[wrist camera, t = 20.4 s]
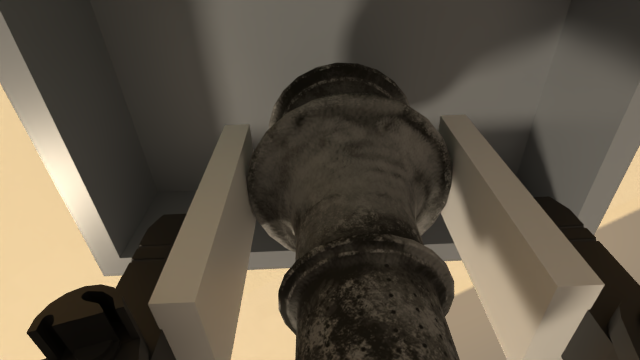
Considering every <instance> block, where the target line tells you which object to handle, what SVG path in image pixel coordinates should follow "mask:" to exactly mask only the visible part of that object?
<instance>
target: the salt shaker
mask: <svg viewBox="0 0 640 360" xmlns="http://www.w3.org/2000/svg"><path fill="white" fill-rule="evenodd" d="M451 185H452V160H451V157H450V155H449V152H448V149H447V147H446V144H445V141H444V139H443V137H442V136H441V135H440V133H439V132H438V131H437V130H436V128H435V127H434V126H433V125H432V124H431V122H430V121H429V120H428V119H427V118H426V117H425V116H423V115H422V114H420V113H419V112H417V111H416V110H414V109H413V108H411V107H410V105H409V102H408V100H407V97H406V95H405V94H404V93H403V91H402V90H401V89H400V88H399V87H398V85H397V84H396V83H395V82H394V80H392V79H391V78H389V77H388V76H386V75H385V74H383V73H382V72H380V71H379V70H377V69H374V68H371V67H368V66H364V65H361V64H358V63H333V64H328V65H324V66H319V67H316V68H314V69H312V70H310V71H308V72H306V73H304V74H302V75H300V76H298V77H297V78H296V79H295V80H294V81H293V82H292V83H291V84H290V85H288V86H287V87H286V88H285V89H284V90H283V92H282V93H281V95H280V97H279V98H278V100H277V102H276V103H275V105H274V107H273V110H272V114H271V118H270V121H269V129H268V130H267V131H266V133H265V134H264V136H263V137H262V139H261V141H260V142H259V144H258V146H257V147H256V149H255V150H254V152H253V154H252V158H251V162H250V166H249V170H248V174H247V189H248V196H249V202H250V205H251V208H252V210H253V212H254V215H255V217H256V220H257V221H258V222H259V223H260V225H261V226H262V227H263V228H264V230H265V231H266V232H267V233H268V234H269V236H270V237H272V238H273V239H274V240H276V241H277V242H279V243H280V244H281V245H283V246H284V247H285V248H287V249H288V250H291V251H293V252H295V253H296V258H295V263H294V264H293V265H292V267H291V268H290V269H289V270H288V271H287V273H286V274H285V275H284V278H283V280H282V283H281V286H280V288H279V293H278V299H279V311H280V313H281V316H282V318H283V320H284V322H285V324H286V325H287V326H288V327H289V328H290V329H291V330H292V331H293V332H294V334H295V335H296V359H295V360H459V357H458V354H457V351H456V348H455V345H454V342H453V339H452V336H451V333H450V330H449V327H448V325H447V322H446V319H445V316H446V314H447V313H448V312H449V309H450V307H451V304H452V301H453V299H454V280H453V278H452V276H451V274H450V271H449V269H448V267H447V265H446V263H445V262H444V261H443V260H442V259H441V258H440V257H439V256H438V255H437V254H436V253H435V252H434V251H433V250H432V249H430V248H428V247H426V246H424V244H423V241H422V238H421V235H422V234H423V233H424V232H425V231H426V230H427V229H429V228H430V227H431V226H432V225H433V224H434V222H435V221H436V219H437V218H438V216H439V215H440V213H441V211H442V210H443V208H444V207H445V205H446V203H447V199H448V196H449V192H450V189H451Z"/></svg>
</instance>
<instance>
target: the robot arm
mask: <svg viewBox="0 0 640 360" xmlns="http://www.w3.org/2000/svg"><path fill="white" fill-rule="evenodd" d="M438 132H439V133H440V135H441V136H442V137H443V139H444V141H445V144H446V147H447V149H448V152H449V155H450V157H451V160H452V185H451V189H450V192H449V196H448V199H447V203H446V205H445V207H444V208H443V210H442V211H441V215H442V217H443V219H444V221H445V224H446V226H447V228H448V230H449V232H450V235H451V237H452V239H453V241H454V244H455V246H456V248H457V250H458V252H459V255H460V257H461V259H462V261H463V263H464V266H465V268H466V270H467V272H468V274H469V277H470V279H471V281H472V283H473V285H474V288H475V290H476V292H477V294H478V297H479V298H480V301H481V303H482V305H483V308H484V310H485V312H486V314H487V316H488V319H489V321H490V323H491V325H492V327H493V329H494V332H495V334H496V336H497V338H498V340H499V343H500V345H501V347H502V350H503V352H504V354H505V356H506V358H507V360H561V359H563V360H640V285H639V284H638V283H637V282H636V281H635V280H634V279H633V278H632V277H631V276H630V275H629V273H628V272H627V271H626V270H625V269H624V268H623V267H622V266H621V265H620V264H619V263H618V261H617V260H616V259H615V258H614V257H613V256H612V255H611V254H610V253H609V252H608V250H607V249H606V248H605V247H604V246H603V245H602V244H601V243H600V242H599V241H596V237H595V236H594V235H593V234H592V233H591V232H590V231H589V230H588V229H587V228H584V224H583V223H582V222H581V221H580V220H579V219H578V218H577V217H576V215H575V214H574V213H573V212H572V211H571V210H570V209H569V208H567V207H565V206H564V205H562V204H561V203H559V202H557V201H556V200H554V199H553V198H551V197H549V196H547V197H533V196H532V195H531V194H530V193H529V192H528V190H527V189H526V188H525V187H524V185H523V184H522V183H521V182H520V181H519V179H518V178H517V177H516V176H515V175H514V173H513V172H512V171H511V170H510V168H509V167H508V166H507V165H506V164H505V162H504V161H503V160H502V159H501V157H500V156H499V155H498V154H497V153H496V151H495V150H494V149H493V148H492V146H491V145H490V144H489V143H488V142H487V140H486V139H485V138H484V137H483V136H482V134H481V133H480V132H479V131H478V129H477V128H476V127H475V126H474V125H473V123H472V122H471V121H470V120H469V118H468V117H467V116H466V115H445V116H440V123H439V129H438ZM253 152H254V150H253V144H252V137H251V131H250V125H249V124H244V125H225V126H224V128H223V131H222V133H221V135H220V138H219V140H218V142H217V145H216V147H215V149H214V152H213V154H212V156H211V159H210V161H209V163H208V166H207V168H206V170H205V173H204V175H203V177H202V180H201V182H200V184H199V187H198V189H197V191H196V194H195V196H194V198H193V200H192V203H191V205H190V207H189V210H188V212H187V214H165V215H162V216H161V217H160V218H159V219H158V220H157V221H156V222H155V223H154V224H152V225H151V226H150V227H149V228H148V229H147V231H146V233H145V235H144V236H143V238H142V240H141V242H140V244H139V249H136V251H135V253H134V255H133V257H132V259H131V260H132V261H131V263H129V264H128V266H127V268H126V270H125V272H124V274H123V275H122V277H121V279H120V281H119V283H118V285H117V287H116V288H114V287H110V286H105V285H92V286H84V287H82V288H79V289H76V290H74V291H71V292H68V293H66V294H65V295H63V296H61V297H60V298H58V299H57V300H55V301H53V302H52V303H50V304H49V305H48V306H47V307H46V308H45V309H44V310H43V311H42V312H41V313H40V314H39V315H38V316H37V317H36V318H35V319H34V321H33V323H32V324H31V326H30V328H29V329H28V331H27V334H28V335H29V337H30V338H31V339H32V340H33V342H34V343H35V344H36V345H37V346H38V348H39V349H40V350H41V351H42V353H43V354H44V355H45V356H46V359H43V360H231V354H232V349H233V344H234V338H235V333H236V327H237V322H238V316H239V311H240V306H241V300H242V295H243V289H244V284H245V278H246V273H247V268H248V262H249V257H250V251H251V246H252V240H253V235H254V230H255V224H256V217H255V215H254V212H253V210H252V208H251V205H250V202H249V196H248V189H247V174H248V170H249V166H250V162H251V158H252V154H253Z"/></svg>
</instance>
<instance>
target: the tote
mask: <svg viewBox="0 0 640 360" xmlns="http://www.w3.org/2000/svg"><path fill="white" fill-rule="evenodd" d="M333 63H358V64H361V65H364V66H368V67H371V68H374V69H377V70H379V71H380V72H382V73H383V74H385V75H386V76H388V77H389V78H391V79H392V80H394V82H395V83H396V84H397V85H398V87H399V88H400V89H401V90H402V91H403V93H404V94H405V95H406V97H407V100H408V102H409V105H410V107H411V108H413V109H414V110H416V111H417V112H419V113H420V114H422V115H423V116H425V117H426V118H427V119H428V120H429V121H430V122H431V124H432V125H433V126H434V127H435V128H436V130H437V131H438V129H439V123H440V116H445V115H466V116H467V117H468V118H469V120H470V121H471V122H472V123H473V125H474V126H475V127H476V128H477V129H478V131H479V132H480V133H481V134H482V136H483V137H484V138H485V139H486V140H487V142H488V143H489V144H490V145H491V146H492V148H493V149H494V150H495V151H496V153H497V154H498V155H499V156H500V157H501V159H502V160H503V161H504V162H505V164H506V165H507V166H508V167H509V168H510V170H511V171H512V172H513V173H514V175H515V176H516V177H517V178H518V179H519V181H520V182H521V183H522V184H523V185H524V187H525V188H526V189H527V190H528V192H529V193H530V194H531V195H532V196H533V197H547V196H549V197H551V198H553V199H554V200H556V201H557V202H559V203H561V204H562V205H564V206H565V207H567V208H569V209H570V210H571V211H572V212H573V213H574V214H575V215H576V217H577V218H578V219H579V220H580V221H581V222H582V223H583V224H584V228H587V229H588V230H589V231H590V232H591V233H592V234H593V235H594V234H595V232H596V230H597V228H598V227H599V225H600V223H601V221H602V219H603V217H604V215H605V213H606V211H607V209H608V207H609V205H610V203H611V201H612V199H613V197H614V195H615V193H616V191H617V189H618V187H619V185H620V183H621V181H622V179H623V177H624V175H625V173H626V171H627V169H628V167H629V165H630V163H631V161H632V159H633V157H634V155H635V153H636V151H637V149H638V147H639V146H640V0H0V83H1V85H2V87H3V89H4V91H5V93H6V95H7V96H8V98H9V100H10V102H11V104H12V106H13V108H14V109H15V111H16V113H17V115H18V117H19V119H20V121H21V123H22V124H23V126H24V128H25V130H26V132H27V134H28V136H29V137H30V139H31V141H32V143H33V145H34V147H35V149H36V150H37V152H38V154H39V156H40V158H41V160H42V162H43V163H44V165H45V167H46V169H47V171H48V173H49V175H50V176H51V178H52V180H53V182H54V184H55V186H56V188H57V189H58V191H59V193H60V195H61V197H62V199H63V201H64V203H65V204H66V206H67V208H68V210H69V212H70V214H71V216H72V217H73V219H74V221H75V223H76V225H77V227H78V229H79V230H80V232H81V234H82V236H83V238H84V240H85V242H86V243H87V245H88V247H89V249H90V251H91V253H92V255H93V256H94V258H95V260H96V262H97V264H98V266H99V268H100V269H101V271H102V273H103V275H104V276H119V275H123V274H124V272H125V270H126V268H127V266H128V264H129V263H131V261H132V260H131V259H132V257H133V255H134V253H135V251H136V249H139V244H140V242H141V240H142V238H143V236H144V235H145V233H146V231H147V229H148V228H149V227H150V226H151V225H152V224H154V223H155V222H156V221H157V220H158V219H159V218H160V217H161V216H162V215H165V214H187V212H188V210H189V207H190V205H191V203H192V200H193V198H194V196H195V194H196V191H197V189H198V187H199V184H200V182H201V180H202V177H203V175H204V173H205V170H206V168H207V166H208V163H209V161H210V159H211V156H212V154H213V152H214V149H215V147H216V145H217V142H218V140H219V138H220V135H221V133H222V131H223V128H224V126H225V125H244V124H249V125H250V131H251V137H252V144H253V150H255V149H256V147H257V146H258V144H259V142H260V141H261V139H262V137H263V136H264V134H265V133H266V131H267V130H268V129H269V121H270V118H271V114H272V110H273V107H274V105H275V103H276V102H277V100H278V98H279V97H280V95H281V93H282V92H283V90H284V89H285V88H286V87H287V86H288V85H290V84H291V83H292V82H293V81H294V80H295V79H296V78H297V77H298V76H300V75H302V74H304V73H306V72H308V71H310V70H312V69H314V68H316V67H319V66H324V65H328V64H333ZM421 238H422V241H423V244H424V246H426V247H428V248H430V249H432V250H433V251H434V252H435V253H436V254H437V255H438V256H439V257H440V258H441V259H442V260H443V261H459V260H462V259H461V257H460V255H459V252H458V250H457V248H456V246H455V244H454V241H453V239H452V237H451V235H450V232H449V230H448V228H447V226H446V224H445V221H444V219H443V217H442V215H441V213H440V215H439V216H438V218H437V219H436V221H435V222H434V224H433V225H432V226H431V227H430V228H429V229H427V230H426V231H425V232H424V233H423V234H422V235H421ZM295 258H296V253H295V252H293V251H291V250H288V249H287V248H285V247H284V246H283V245H281V244H280V243H279V242H277V241H276V240H274V239H273V238H272V237H270V236H269V234H268V233H267V232H266V231H265V230H264V228H263V227H262V226H261V225H260V223H259V222H258V221H257V220H256V224H255V230H254V235H253V240H252V246H251V251H250V257H249V262H248V268H247V270H255V269H278V268H291V267H292V265H293V264H294V263H295Z"/></svg>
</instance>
